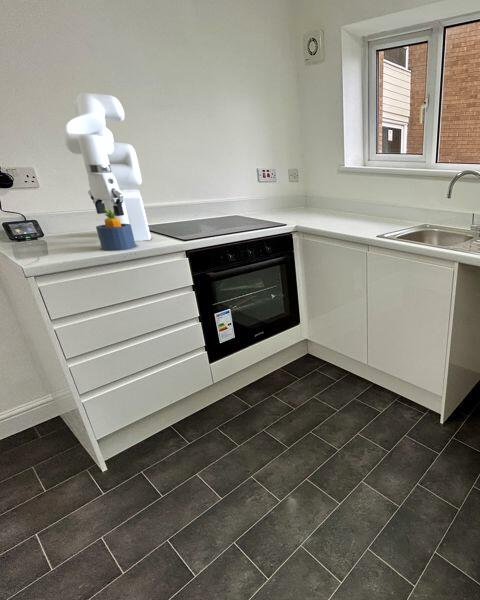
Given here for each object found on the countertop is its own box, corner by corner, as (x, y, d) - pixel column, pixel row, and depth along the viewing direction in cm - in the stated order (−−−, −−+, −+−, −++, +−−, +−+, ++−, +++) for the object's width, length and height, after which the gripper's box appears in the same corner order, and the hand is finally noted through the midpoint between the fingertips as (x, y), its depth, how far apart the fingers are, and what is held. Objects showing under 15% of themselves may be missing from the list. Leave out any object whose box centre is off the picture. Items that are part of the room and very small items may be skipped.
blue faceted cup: (122, 243, 153) (117, 222, 149) (142, 246, 150) (137, 224, 146) (95, 248, 143) (88, 226, 139) (115, 251, 140) (109, 229, 136)
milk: (149, 240, 160) (138, 190, 152) (133, 241, 157) (121, 190, 149) (151, 237, 165) (140, 189, 157) (135, 238, 162) (123, 189, 154)
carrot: (129, 244, 148) (120, 208, 142) (119, 247, 143) (109, 209, 138) (118, 243, 148) (108, 207, 143) (108, 246, 144) (97, 209, 138)
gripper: (125, 170, 136) (136, 215, 143) (93, 168, 141) (104, 211, 147) (105, 171, 130) (117, 217, 136) (72, 168, 134) (85, 213, 141)
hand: (110, 214), depth 142 cm, fingers open, 9 cm apart
